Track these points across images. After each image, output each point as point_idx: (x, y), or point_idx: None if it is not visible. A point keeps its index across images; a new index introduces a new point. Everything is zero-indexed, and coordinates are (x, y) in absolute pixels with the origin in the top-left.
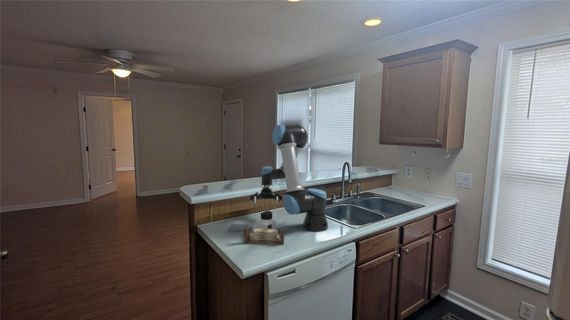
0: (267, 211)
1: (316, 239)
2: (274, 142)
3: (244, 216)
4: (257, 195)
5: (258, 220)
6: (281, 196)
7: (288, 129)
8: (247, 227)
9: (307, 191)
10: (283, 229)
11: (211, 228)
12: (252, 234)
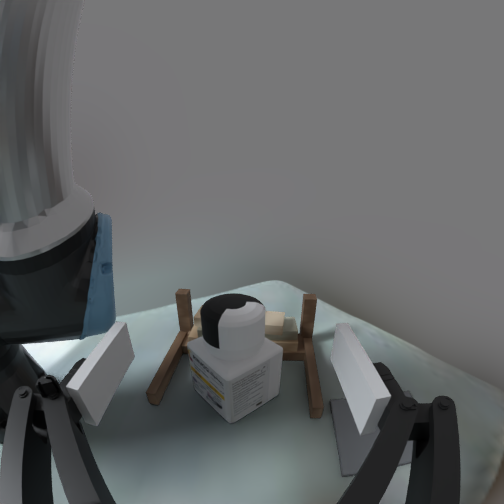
0: (226, 306)
1: (79, 340)
2: None
3: None
4: (377, 452)
5: (276, 347)
6: (24, 390)
7: None
8: (306, 299)
9: None
10: (179, 290)
11: (474, 396)
12: (285, 318)
